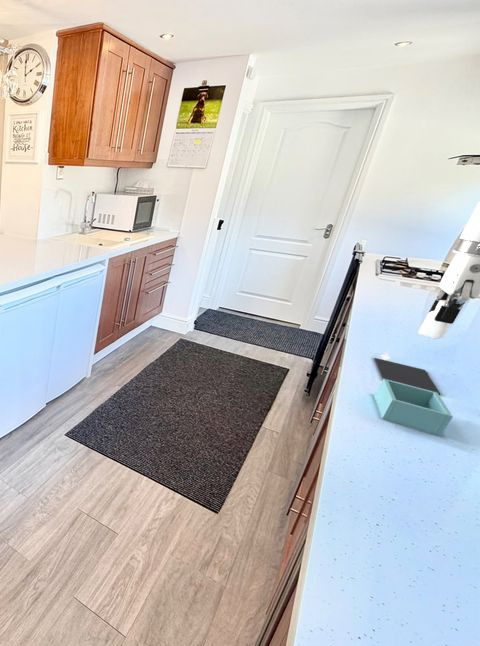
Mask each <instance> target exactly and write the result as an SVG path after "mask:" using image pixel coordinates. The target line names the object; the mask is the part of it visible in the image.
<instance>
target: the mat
mask: <svg viewBox="0 0 480 646" xmlns="http://www.w3.org/2000/svg"><path fill="white" fill-rule="evenodd" d="M373 359H374V362H375V364H376V367H377V369H378V371H379V374H380V376H381V379H382V380H383V379H387V380H391V381H395V382H399V383H402V384H406V385H410V386H414V387H418V388H422V389H426V390H429V391H433V392H437V393H438V394H439V396H440V395H441V392H440V391H439V389H438V388H437V386H436V385H435V383H434V382H433V380H432V379H431V377H430V376H429V374H428V372H427V371H426V369H424V368H419V367H414V366H410V365H407V364H403V363H398V362H394V361H390V360H385V359H381V358H378V357H374V358H373Z"/></svg>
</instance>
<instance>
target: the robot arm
mask: <svg viewBox="0 0 480 646" xmlns="http://www.w3.org/2000/svg"><path fill="white" fill-rule="evenodd" d="M452 253H454V254H455V255H454V257H453V258H452V260H451V262H450V264H449V265H448V267H447V268H446V270H445V272H444V273H443V276H442V278H441V279H440V282H439V288H440V289H441V290H440V291H439V293H438V294H437V296H436V298H435V299H434V302H433V304H432V305H431V307H430V309H429V311H428V313H430V312H431V311H435V309H436V306H437V305H438V303H439V301H440V300H446V302H445V304H444V306H441V308H440V310H439V312H438V313H437V315H436V317H435V321H439V322H444V323H449V324H451V325H453V324H454V323H455V321H456V319H457V317H458V315H459V314H460V312H461V310H462V309H463V307H464V305H465V304H466V302H467V301H468V300H469V299H472V300H475V299H478V298H479V297H480V200H479V201H478V202H477V204H476V206H475V208H474V210H473V211H472V214H471V216H470V218H469V219H468V221H467V223H466V225H465V227H464V229H463V231H462V232H461V234H460V237H459V239H458V240H457V242H456V243H455V246H454V248H453V250H452Z"/></svg>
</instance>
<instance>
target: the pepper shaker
mask: <svg viewBox="0 0 480 646" xmlns="http://www.w3.org/2000/svg"><path fill="white" fill-rule="evenodd" d="M445 302H446V300H440V301H439V303H438V305H437V306H436V309H435V311H431V312H430V313H429V312H428V314H427V315H426V317H425V318H424V321H423V323H422V324H421V326H420V328H419V330H418V334H419V335H421V336H422V337H423V336H424V337H427V338H431V339H434V340H439V339H442V338H444V337H445V336H446V334H447V332H448V330H449V328H450V327H451V325H452V324H449V323H444V322H439V321H435V317H436V315H437V313H438V312H439V310H440V308H441V306H444V304H445Z"/></svg>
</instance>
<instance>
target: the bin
mask: <svg viewBox="0 0 480 646" xmlns="http://www.w3.org/2000/svg"><path fill="white" fill-rule="evenodd" d="M373 397H374V400H375V404H376V405H377V408H378V412H379V414H380V418H381V419H382V420H385V421H389V422H391V423H395V424H399V425H402V426H405V427H409V428H412V429H415V430H418V431H422V432H424V433H429V434H431V435H435V436H438V437H441V436H442V435H443V433H444V431H445V430H446V428H447V427H448V425H449V423H450V422H451V420H452V419H453V414H452V413H451V411H450V410H449V408H448V407H447V405H446V403H445V402H444V400H443V399H442V398H441V396H440V395H439V394H438V393H437V392H433V391H429V390H426V389H422V388H418V387H414V386H410V385H406V384H402V383H399V382H395V381H391V380H387V379H382V380H381V382H380V384H379V386H378V388H377V390H376V392H375V393H374V396H373Z"/></svg>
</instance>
